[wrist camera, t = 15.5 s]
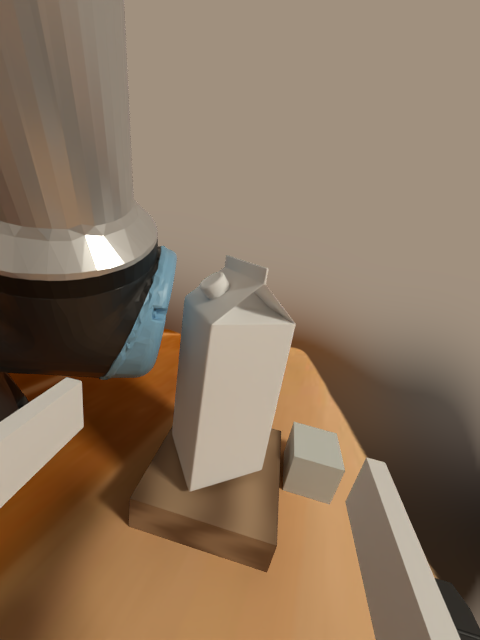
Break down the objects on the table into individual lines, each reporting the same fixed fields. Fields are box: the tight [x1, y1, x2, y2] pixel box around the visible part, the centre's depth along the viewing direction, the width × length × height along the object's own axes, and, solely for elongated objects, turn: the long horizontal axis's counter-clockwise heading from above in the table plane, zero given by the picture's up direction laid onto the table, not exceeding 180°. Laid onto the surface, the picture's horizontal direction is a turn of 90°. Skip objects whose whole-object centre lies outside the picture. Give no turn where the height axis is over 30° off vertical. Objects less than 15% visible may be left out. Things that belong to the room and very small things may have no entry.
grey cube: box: [283, 422, 345, 504], centre depth 29 cm, size 5×5×5 cm
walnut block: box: [129, 426, 281, 572], centre depth 26 cm, size 12×12×4 cm
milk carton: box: [172, 256, 296, 491], centre depth 23 cm, size 7×7×19 cm
